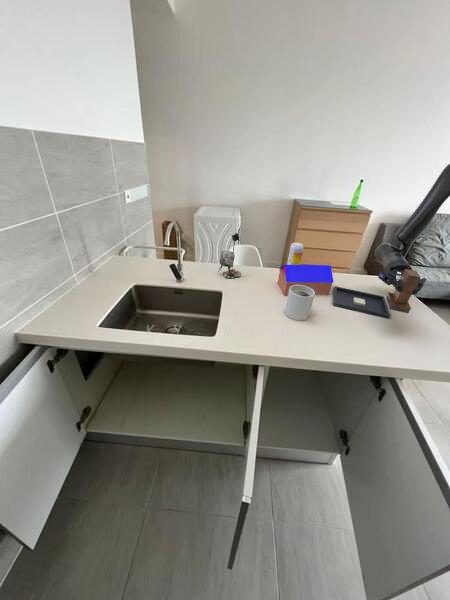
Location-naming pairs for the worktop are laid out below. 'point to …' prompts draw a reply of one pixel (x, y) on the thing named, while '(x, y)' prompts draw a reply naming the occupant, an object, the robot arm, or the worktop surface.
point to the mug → (299, 302)
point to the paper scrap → (359, 301)
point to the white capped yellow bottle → (295, 254)
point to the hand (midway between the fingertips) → (408, 290)
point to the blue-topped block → (306, 278)
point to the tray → (372, 305)
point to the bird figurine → (229, 260)
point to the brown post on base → (403, 292)
